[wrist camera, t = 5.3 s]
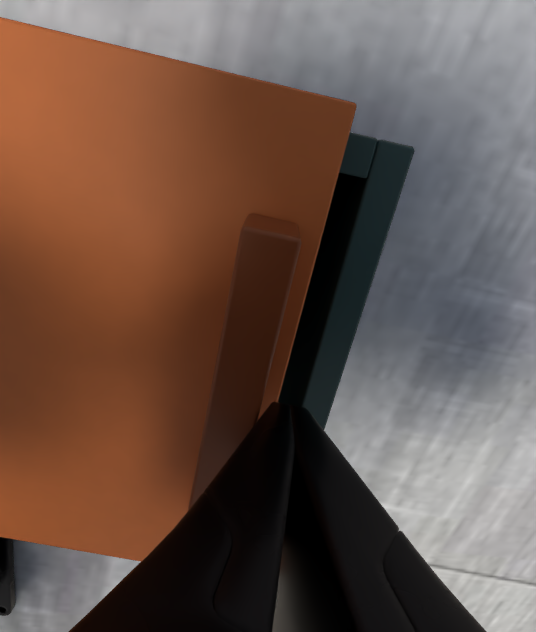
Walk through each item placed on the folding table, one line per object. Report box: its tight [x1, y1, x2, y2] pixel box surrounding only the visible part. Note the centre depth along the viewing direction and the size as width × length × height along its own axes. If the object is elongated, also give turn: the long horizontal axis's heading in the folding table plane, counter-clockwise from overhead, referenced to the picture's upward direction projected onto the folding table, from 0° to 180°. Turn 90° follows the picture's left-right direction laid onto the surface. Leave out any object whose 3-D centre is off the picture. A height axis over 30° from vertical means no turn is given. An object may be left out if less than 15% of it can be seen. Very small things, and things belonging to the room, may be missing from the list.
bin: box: [278, 132, 414, 430], centre depth 13 cm, size 19×12×6 cm, turn 78°
